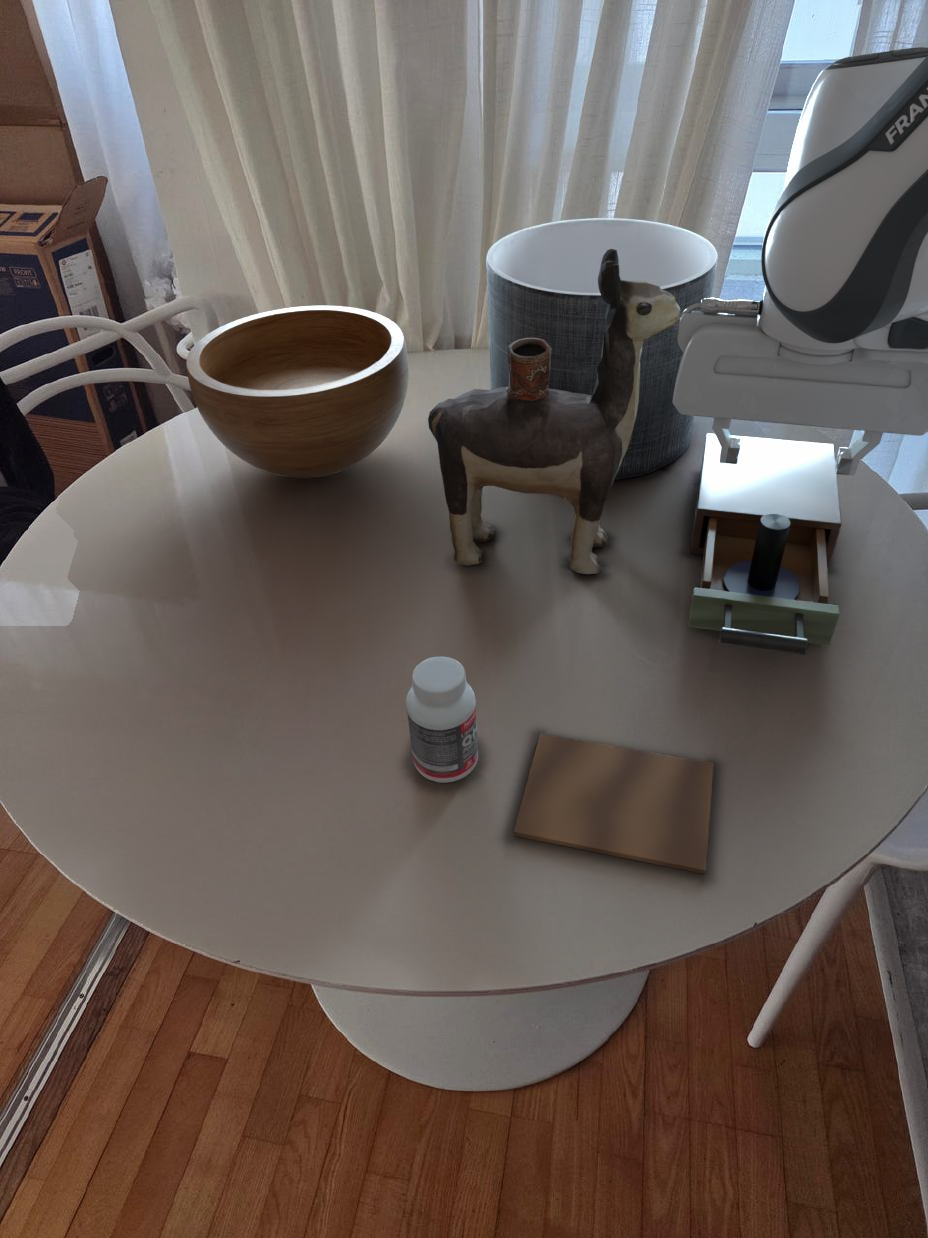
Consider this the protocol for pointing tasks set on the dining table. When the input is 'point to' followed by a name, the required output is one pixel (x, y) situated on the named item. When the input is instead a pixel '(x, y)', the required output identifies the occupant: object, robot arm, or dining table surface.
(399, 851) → the dining table surface
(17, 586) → the dining table surface
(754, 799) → the dining table surface
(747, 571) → the lid
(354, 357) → the bowl
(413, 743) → the pill bottle
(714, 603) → the drawer
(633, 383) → the figurine
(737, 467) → the cabinet
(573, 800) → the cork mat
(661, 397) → the planter
